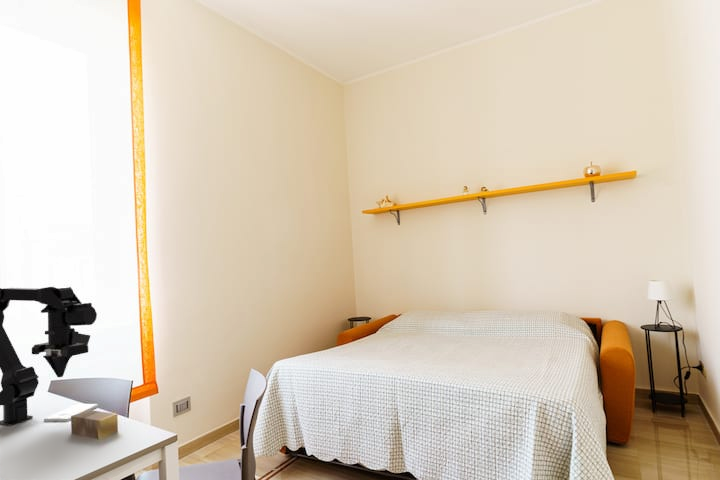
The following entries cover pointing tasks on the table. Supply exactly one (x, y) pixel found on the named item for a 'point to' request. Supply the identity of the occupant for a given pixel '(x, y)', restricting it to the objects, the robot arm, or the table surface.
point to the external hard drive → (70, 412)
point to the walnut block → (94, 424)
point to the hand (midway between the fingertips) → (60, 377)
